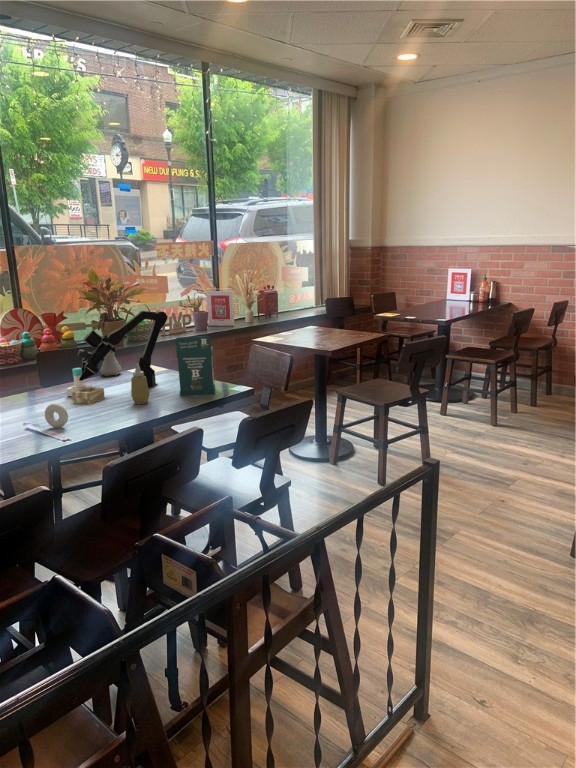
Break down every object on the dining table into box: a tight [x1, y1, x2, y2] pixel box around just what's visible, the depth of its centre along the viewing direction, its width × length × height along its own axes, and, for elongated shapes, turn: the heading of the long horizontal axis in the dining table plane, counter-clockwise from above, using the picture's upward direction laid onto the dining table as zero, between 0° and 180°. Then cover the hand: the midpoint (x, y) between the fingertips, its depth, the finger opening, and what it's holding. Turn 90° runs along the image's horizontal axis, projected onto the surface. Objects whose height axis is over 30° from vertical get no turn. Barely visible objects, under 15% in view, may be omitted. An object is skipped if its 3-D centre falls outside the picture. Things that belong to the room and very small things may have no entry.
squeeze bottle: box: [130, 363, 150, 405], centre depth 253 cm, size 8×8×18 cm
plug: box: [71, 367, 84, 389], centre depth 271 cm, size 4×4×13 cm
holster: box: [65, 384, 93, 398], centre depth 272 cm, size 8×8×4 cm
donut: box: [44, 402, 69, 429], centre depth 222 cm, size 10×4×10 cm, turn 74°
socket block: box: [72, 386, 106, 405], centre depth 261 cm, size 10×10×5 cm
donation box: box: [175, 335, 216, 397], centre depth 269 cm, size 16×16×28 cm
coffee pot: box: [99, 350, 122, 377], centre depth 308 cm, size 21×12×15 cm, turn 170°
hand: (79, 378), depth 271 cm, fingers open, 9 cm apart
